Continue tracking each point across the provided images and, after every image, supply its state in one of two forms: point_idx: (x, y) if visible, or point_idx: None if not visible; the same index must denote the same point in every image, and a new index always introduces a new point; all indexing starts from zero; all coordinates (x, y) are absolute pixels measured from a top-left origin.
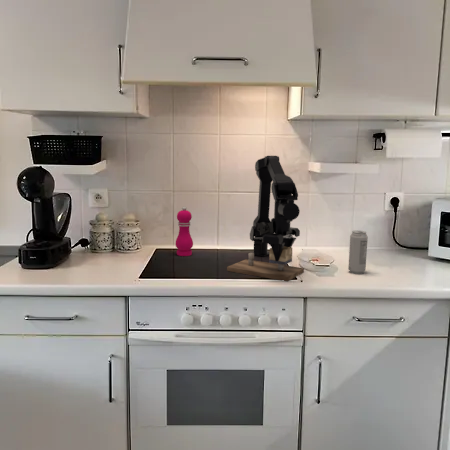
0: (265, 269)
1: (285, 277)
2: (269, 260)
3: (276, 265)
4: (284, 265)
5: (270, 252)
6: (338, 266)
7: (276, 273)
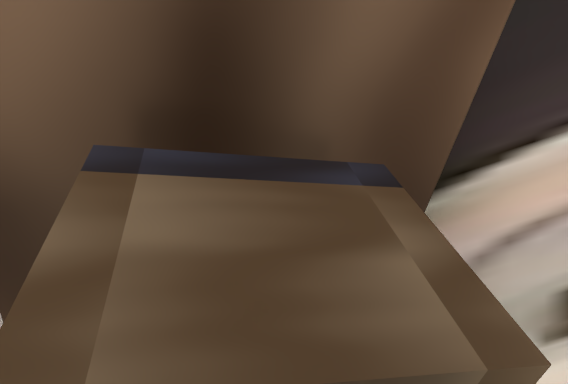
0: (145, 24)
1: (4, 315)
2: (84, 166)
3: (411, 92)
4: (433, 169)
5: (31, 307)
6: (546, 371)
7: (51, 217)
